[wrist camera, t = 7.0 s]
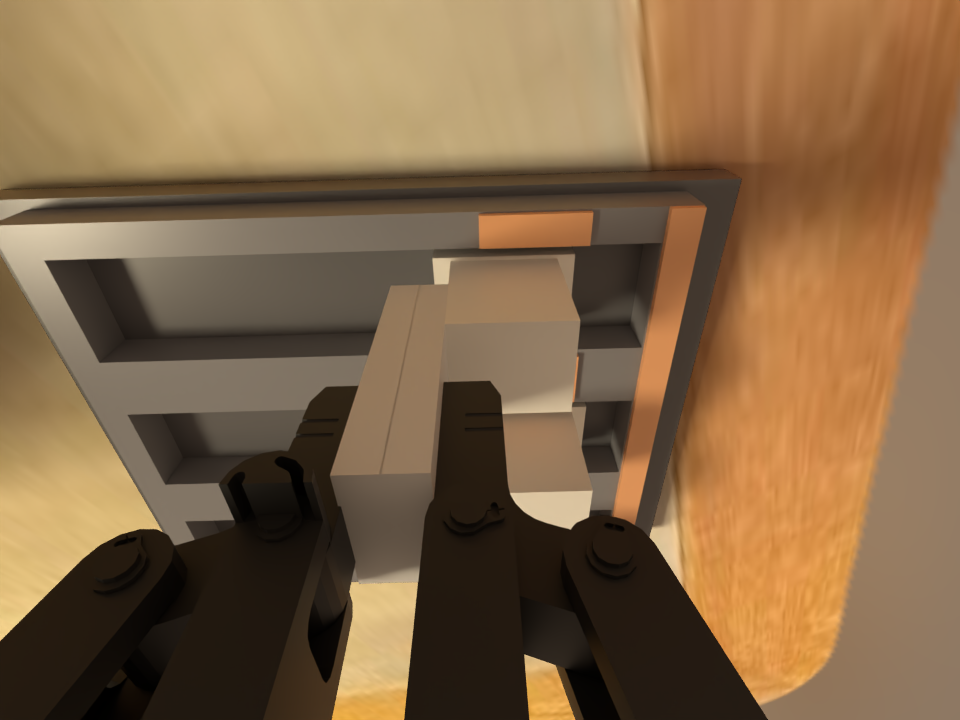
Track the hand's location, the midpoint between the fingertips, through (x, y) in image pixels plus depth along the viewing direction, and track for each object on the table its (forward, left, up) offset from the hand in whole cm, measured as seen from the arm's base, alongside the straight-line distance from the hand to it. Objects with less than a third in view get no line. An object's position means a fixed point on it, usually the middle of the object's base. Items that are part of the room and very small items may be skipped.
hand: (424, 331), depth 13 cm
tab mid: (+3, -5, -3) cm, 7 cm away
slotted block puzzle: (-2, -5, -4) cm, 7 cm away
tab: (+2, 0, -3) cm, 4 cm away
